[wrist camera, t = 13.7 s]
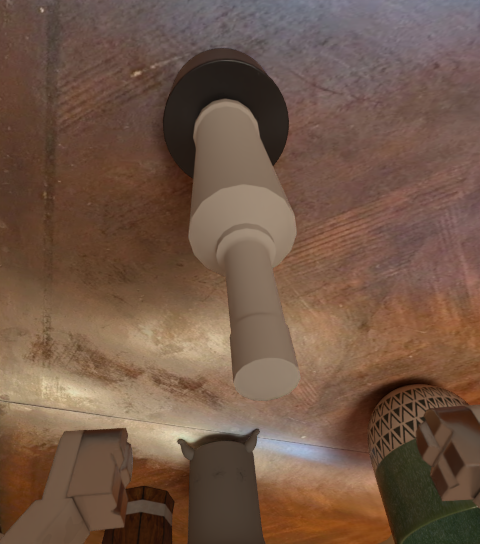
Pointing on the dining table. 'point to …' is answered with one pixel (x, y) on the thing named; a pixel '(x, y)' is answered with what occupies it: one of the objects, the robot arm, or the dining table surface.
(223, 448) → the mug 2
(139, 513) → the mug
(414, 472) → the planter
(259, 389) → the bottle
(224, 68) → the canister
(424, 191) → the dining table surface
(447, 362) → the dining table surface
